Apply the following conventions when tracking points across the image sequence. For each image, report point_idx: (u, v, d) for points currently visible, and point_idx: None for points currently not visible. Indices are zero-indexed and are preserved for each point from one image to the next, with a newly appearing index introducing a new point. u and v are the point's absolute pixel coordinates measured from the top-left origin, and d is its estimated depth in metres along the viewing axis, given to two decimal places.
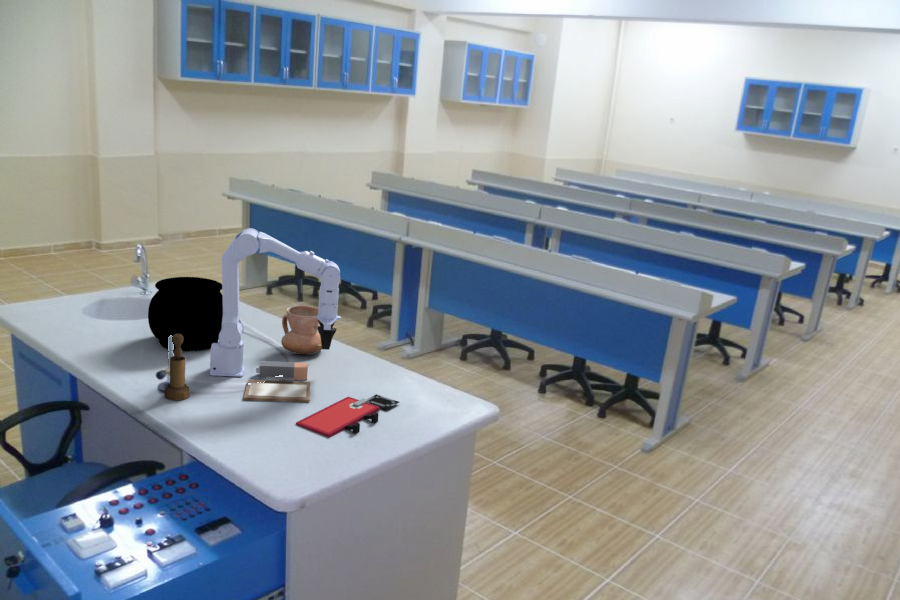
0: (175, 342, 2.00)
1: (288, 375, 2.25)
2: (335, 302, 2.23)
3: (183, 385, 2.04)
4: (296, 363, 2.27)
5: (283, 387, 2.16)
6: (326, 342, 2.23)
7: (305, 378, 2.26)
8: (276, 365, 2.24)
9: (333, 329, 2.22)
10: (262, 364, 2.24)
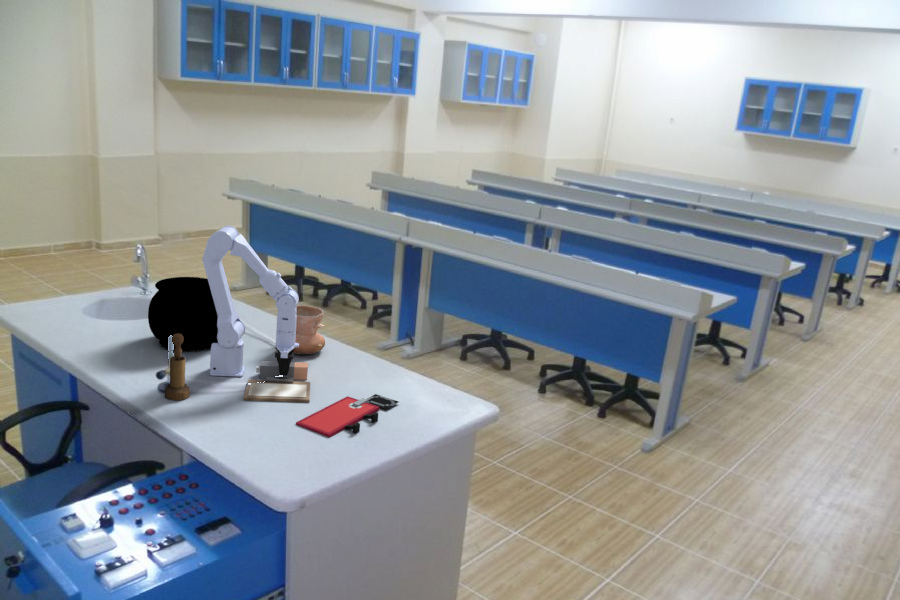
0: (175, 342, 2.00)
1: (288, 375, 2.25)
2: (292, 330, 2.21)
3: (183, 385, 2.04)
4: (296, 363, 2.27)
5: (283, 387, 2.16)
6: (284, 368, 2.23)
7: (305, 378, 2.26)
8: (276, 365, 2.24)
9: (291, 355, 2.21)
10: (262, 364, 2.24)
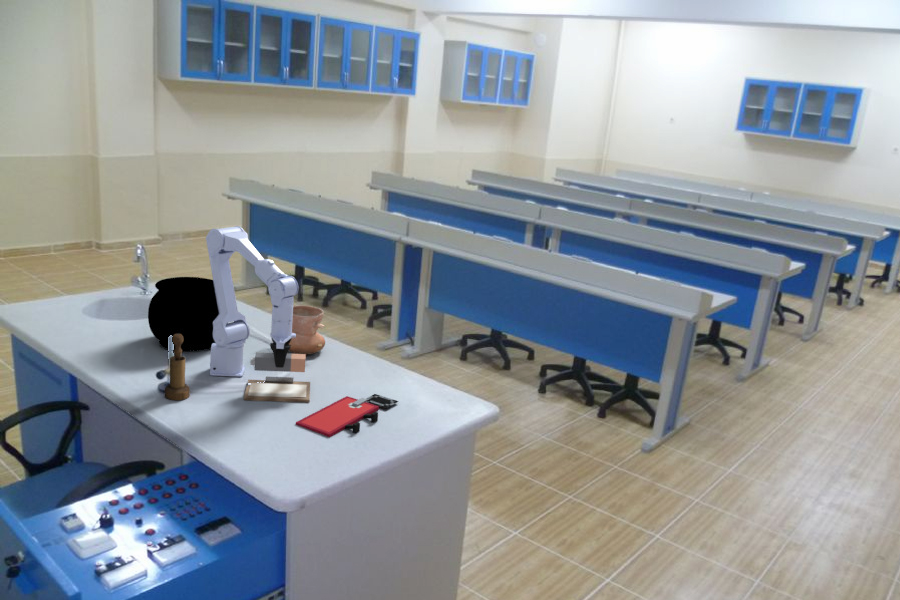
0: (175, 342, 2.00)
1: (285, 367, 2.12)
2: (282, 319, 2.07)
3: (183, 385, 2.04)
4: (293, 354, 2.15)
5: (283, 387, 2.16)
6: (280, 360, 2.10)
7: (303, 370, 2.13)
8: (272, 356, 2.11)
9: (287, 346, 2.09)
10: (257, 355, 2.11)
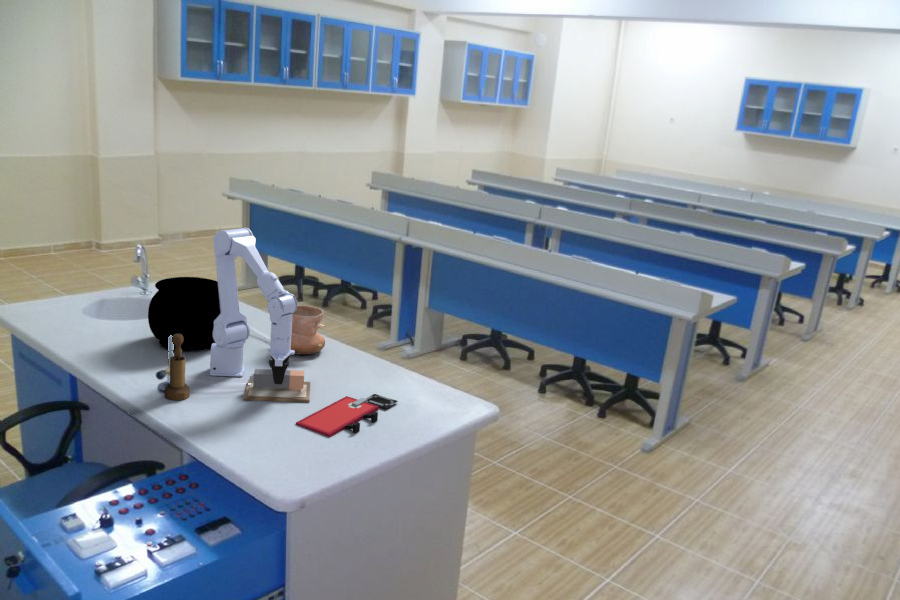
0: (175, 342, 2.00)
1: (283, 384, 2.13)
2: (281, 337, 2.08)
3: (183, 385, 2.04)
4: (292, 371, 2.15)
5: None
6: (279, 376, 2.11)
7: (301, 387, 2.14)
8: (271, 373, 2.12)
9: (286, 363, 2.09)
10: (256, 372, 2.12)
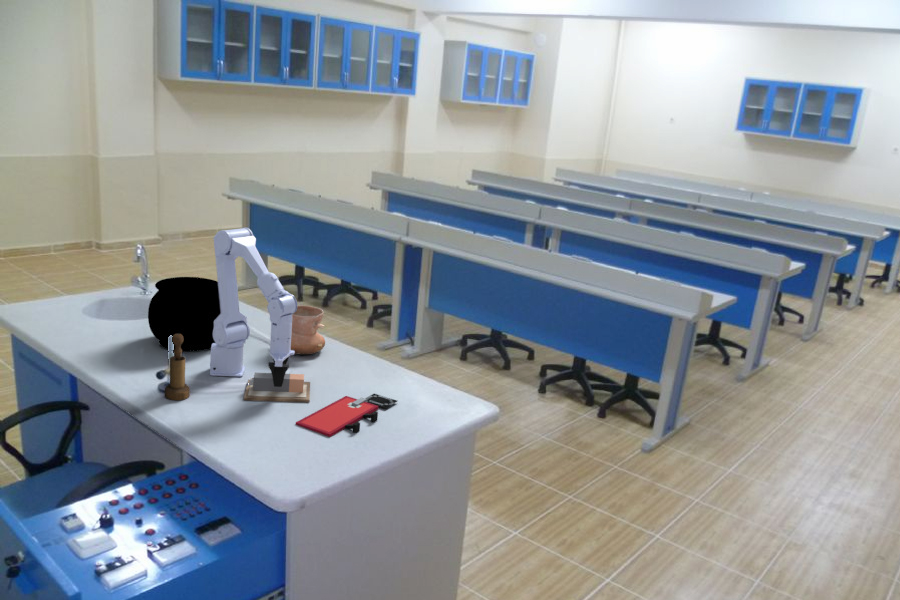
0: (175, 342, 2.00)
1: (283, 387, 2.13)
2: (281, 337, 2.08)
3: (183, 385, 2.04)
4: (292, 375, 2.16)
5: None
6: (278, 379, 2.10)
7: (301, 390, 2.14)
8: (270, 377, 2.12)
9: (285, 365, 2.08)
10: (256, 376, 2.12)
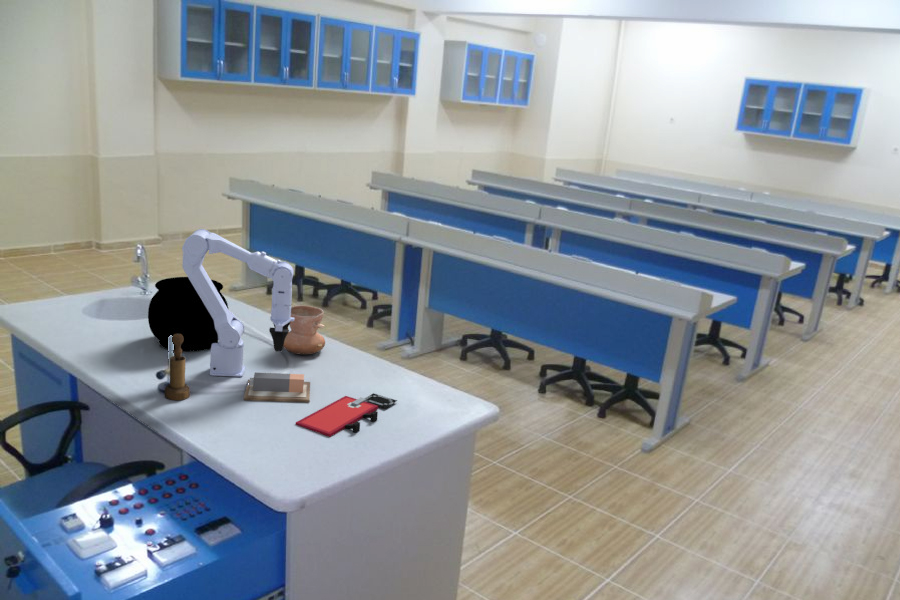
0: (175, 342, 2.00)
1: (283, 387, 2.13)
2: (288, 303, 2.20)
3: (183, 385, 2.04)
4: (292, 375, 2.16)
5: None
6: (278, 344, 2.20)
7: (301, 390, 2.14)
8: (270, 377, 2.12)
9: (285, 330, 2.19)
10: (256, 376, 2.12)
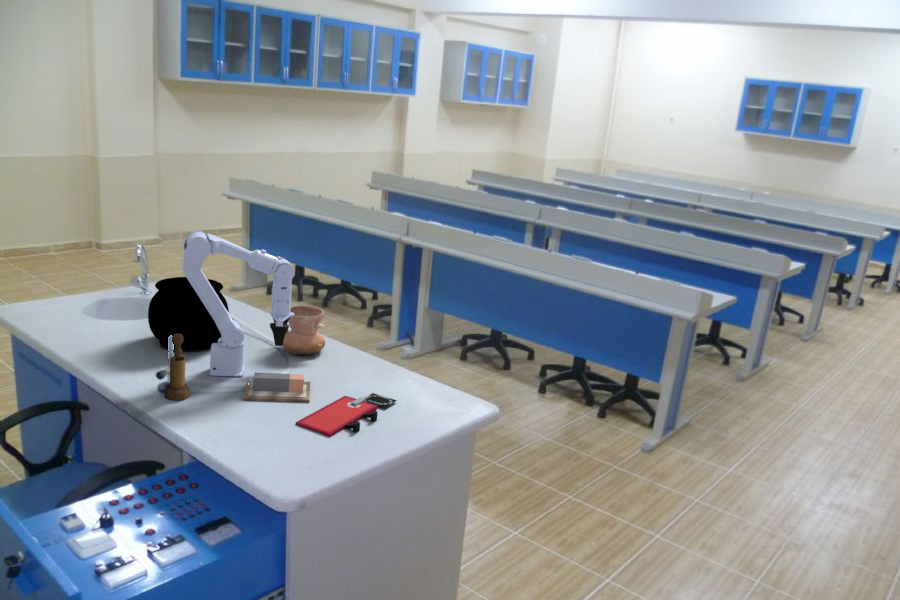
0: (175, 342, 2.00)
1: (283, 387, 2.13)
2: (289, 298, 2.24)
3: (183, 385, 2.04)
4: (292, 375, 2.16)
5: None
6: (279, 339, 2.24)
7: (301, 390, 2.14)
8: (270, 377, 2.12)
9: (286, 326, 2.22)
10: (256, 376, 2.12)
